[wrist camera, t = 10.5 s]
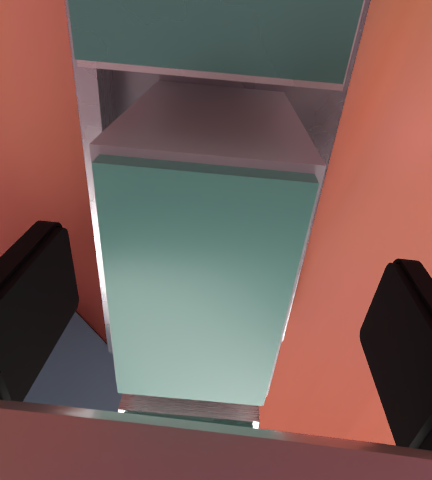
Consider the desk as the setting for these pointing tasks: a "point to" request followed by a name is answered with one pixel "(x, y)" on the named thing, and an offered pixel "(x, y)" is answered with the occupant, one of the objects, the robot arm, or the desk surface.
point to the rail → (216, 74)
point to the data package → (78, 372)
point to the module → (202, 237)
